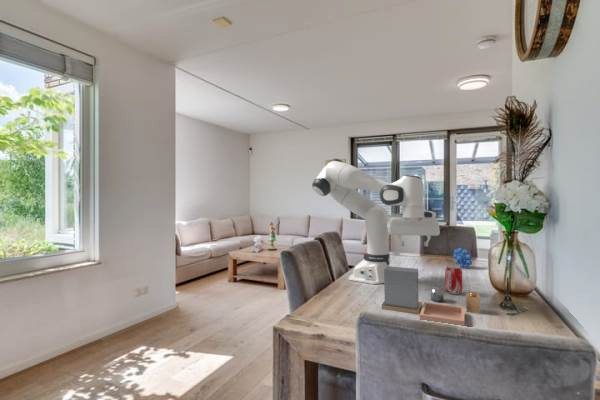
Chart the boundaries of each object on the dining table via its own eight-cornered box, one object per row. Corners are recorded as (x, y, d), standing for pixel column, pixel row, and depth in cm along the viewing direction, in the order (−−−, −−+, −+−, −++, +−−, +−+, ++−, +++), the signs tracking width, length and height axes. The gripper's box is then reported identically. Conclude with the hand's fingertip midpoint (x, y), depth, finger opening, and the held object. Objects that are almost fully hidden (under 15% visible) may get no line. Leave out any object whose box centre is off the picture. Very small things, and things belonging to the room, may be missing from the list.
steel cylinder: (430, 301, 130) (430, 289, 130) (431, 298, 135) (431, 286, 135) (443, 303, 128) (443, 291, 128) (444, 299, 132) (444, 287, 132)
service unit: (381, 308, 123) (380, 269, 123) (387, 300, 132) (386, 264, 132) (419, 314, 117) (418, 273, 116) (422, 305, 126) (421, 267, 125)
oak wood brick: (466, 312, 118) (466, 293, 118) (466, 308, 122) (466, 290, 122) (480, 313, 116) (479, 295, 116) (479, 309, 120) (479, 291, 120)
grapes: (449, 267, 190) (448, 247, 190) (456, 265, 193) (455, 246, 193) (467, 270, 180) (467, 250, 180) (474, 269, 183) (474, 248, 183)
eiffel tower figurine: (512, 317, 113) (511, 281, 113) (484, 309, 122) (483, 275, 122) (534, 310, 120) (533, 275, 120) (506, 302, 129) (506, 270, 129)
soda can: (441, 291, 143) (441, 265, 143) (453, 289, 145) (452, 264, 145) (455, 296, 136) (454, 268, 136) (466, 293, 139) (466, 267, 139)
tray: (419, 321, 110) (419, 314, 110) (424, 308, 122) (424, 302, 122) (464, 328, 104) (464, 321, 103) (464, 314, 116) (464, 307, 116)
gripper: (386, 213, 132) (387, 246, 133) (439, 213, 124) (440, 248, 125) (388, 213, 138) (389, 244, 138) (439, 212, 130) (440, 245, 130)
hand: (414, 246), depth 131 cm, fingers open, 8 cm apart
